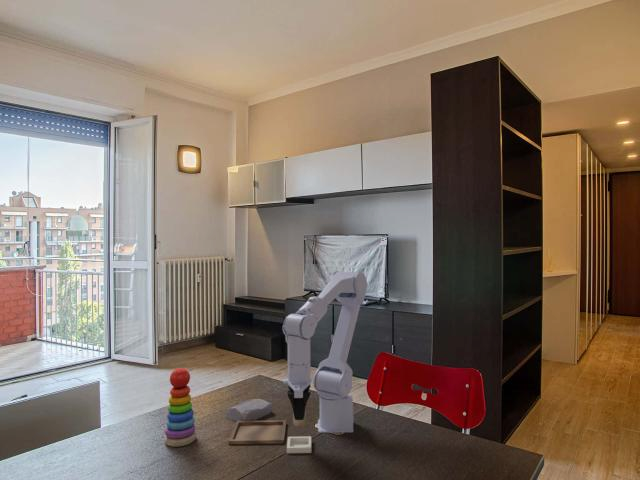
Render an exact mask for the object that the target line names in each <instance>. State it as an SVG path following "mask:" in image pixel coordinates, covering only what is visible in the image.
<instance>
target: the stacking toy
mask: <svg viewBox="0 0 640 480" xmlns="http://www.w3.org/2000/svg"><path fill="white" fill-rule="evenodd" d="M190 379H191V373H190V372H189V371H188V370H187V369H186V368H183V367H180V368H178V367H177V368H176V369H175V370H173V371H172V372H171V374H170V375H169V382H170V384H171V386H172V388H170V390H169V393H170V396H169V399H168V403H169V404H168V406H167V410H168V413H167V415H166V417H167V421H166V427H165V430H164V433H165V436H164V443H165V444H166V445H168V446H169V447H174V448H176V447H184V446H187V445H189V444H191V443H193V442H194V441H195V440H196V438H197V431H196V425H195V424H194V423H195V421H196V419H195V417H194V409H193V402H192V401H191V400H192V396H191V394H190V393H191V388H190V386H188V384H189V383H190Z"/></svg>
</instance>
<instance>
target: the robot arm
mask: <svg viewBox="0 0 640 480" xmlns="http://www.w3.org/2000/svg"><path fill="white" fill-rule="evenodd" d="M367 289H368V281H367V278H366V275H365V274H364V272H362V271H361V272H349V271H339V270H335V271H333V272H332V274H331V275H330V276H329V277H328V283H327V284H326V286H325V287H324V288H323V290H322V291H321V292H320V293H319V294H318V295H317V296H310V297H309V298H308V299H307V301H306V302H304V304H303V305H302V306H301V307H300V308H299V309H298V310H297V311H296V312H295V313H290V314H288V315H287V316H286V317H285V319H284V320H283V325H282V326H281V327H282V329H281V330H282V333H283V334H284V336H285V343H286V344H287V378H283V380H282V385H283V384H284V385H287V387H288V389H289V390H287V398H288V400H289V401H290V403H291V408H292V415H293V414H294V418H295V420H303V419H304V415H305V409H307V408H306V407H307V404H308V400H309V398H310V397H311V391H310V388H311V384H312V385H313V389H314V390H315V391H316V392H317V393H316V394H317V395H318V396H319V419H317V430H318V432H317V433H320V434H325V433H326V434H327V433H335V434H336V433H354V422H355V420H354V419H355V418H354V402H353V401H354V399H353V395H352V394H350V393H351V390H352V387H353V369H352V368H351V367H350V365H349V364H348V363H347V360H348V358H349V357H348V356H349V352H350V348H351V345H352V340H353V335H354V332H355V328H356V323H357V321H358V318H359V317H358V315H359V312H360V308H361V305H362V304H363V303H364V302H365V297H366V293H367ZM335 299H336V301H337V302H339V303H340V304H341V309H340V313H339V317H338V319H337V320H338V321H337V323H336V329H335V331H334V335H333V339H332V343H331V347H330V351H329V354H328V357H327V358H325V359H324V360H321V362H319V364H318V367H317V370H316V371H315V372H314V375H313V379H312V378H311V337H312V338H313V336H314V334H315V331H316V328H317V327H318V323H319V322H320V320H321V319H322V318H323V317H325V315H326V314H327V312H328V306H329V305H330V304H331V303H332V302H334V300H335Z"/></svg>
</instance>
